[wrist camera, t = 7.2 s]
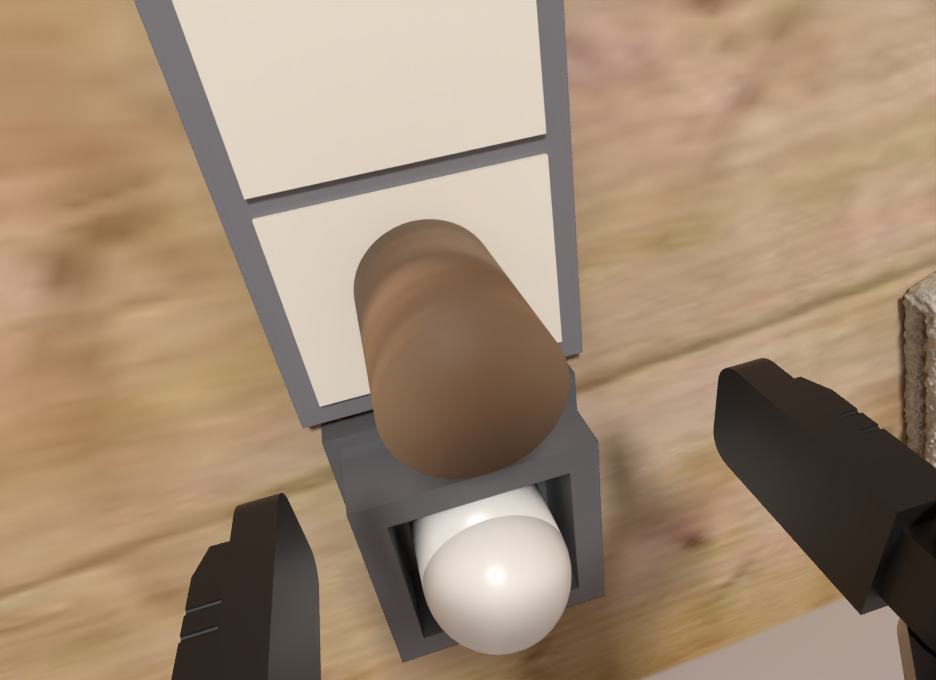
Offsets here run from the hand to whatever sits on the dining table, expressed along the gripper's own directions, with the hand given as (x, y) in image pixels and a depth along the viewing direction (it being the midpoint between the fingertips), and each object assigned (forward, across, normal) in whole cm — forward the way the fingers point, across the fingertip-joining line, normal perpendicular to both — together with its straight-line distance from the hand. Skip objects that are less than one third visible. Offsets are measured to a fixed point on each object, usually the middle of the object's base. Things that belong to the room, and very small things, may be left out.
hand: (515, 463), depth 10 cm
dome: (+8, 0, +9) cm, 12 cm away
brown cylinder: (+8, 0, 0) cm, 9 cm away
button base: (+9, 0, +10) cm, 13 cm away
